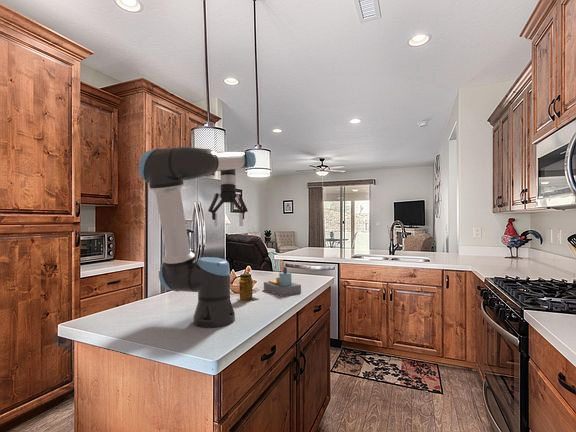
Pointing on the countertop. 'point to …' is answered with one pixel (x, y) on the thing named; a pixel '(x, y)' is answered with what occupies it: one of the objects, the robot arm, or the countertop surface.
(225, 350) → the countertop surface
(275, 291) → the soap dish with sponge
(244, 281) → the condiment
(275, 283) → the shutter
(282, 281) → the light blue bottle
